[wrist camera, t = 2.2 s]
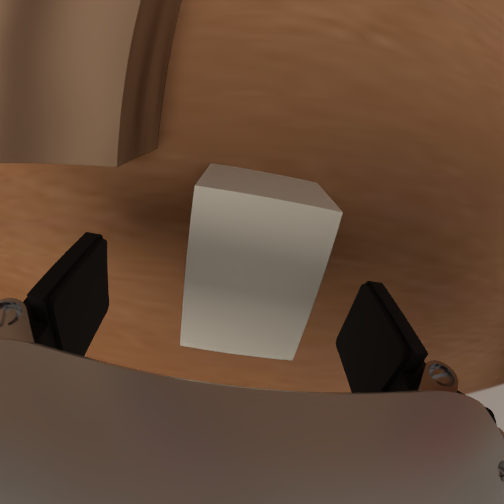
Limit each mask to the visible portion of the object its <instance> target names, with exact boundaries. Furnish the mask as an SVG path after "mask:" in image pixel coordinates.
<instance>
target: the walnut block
mask: <svg viewBox="0 0 504 504" xmlns="http://www.w3.org/2000/svg"><path fill="white" fill-rule="evenodd" d="M180 4H181V0H0V163H47V164H73V165H91V166H106V167H118V166H120V165H122V164H124V163H126V162H128V161H130V160H133V159H135V158H137V157H139V156H141V155H143V154H145V153H147V152H150V151H152V150H154V149H156V148H157V146H158V136H159V127H160V118H161V110H162V103H163V95H164V88H165V82H166V75H167V69H168V63H169V58H170V52H171V47H172V41H173V36H174V31H175V27H176V22H177V17H178V13H179V9H180Z"/></svg>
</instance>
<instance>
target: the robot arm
mask: <svg viewBox="0 0 504 504" xmlns="http://www.w3.org/2000/svg"><path fill="white" fill-rule="evenodd" d="M27 296H28V297H27V298H26V299H25V300H24V302H22V301H20V300H18V299H14V298H6V299H2V300H0V504H504V432H503V431H502V430H501V429H500V428H498V427H497V425H496V420H495V418H494V414H493V412H492V411H491V410H490V409H488V408H486V407H484V406H483V405H482V404H481V403H480V402H479V401H477V400H475V399H473V398H471V397H469V396H466V395H465V394H463V393H461V392H460V391H458V390H457V389H458V378H457V376H456V374H455V372H454V371H453V370H452V369H451V368H450V367H449V366H448V365H446V364H445V363H443V362H440V361H436V360H433V361H429V362H428V363H427V364H426V363H425V362H424V360H425V358H426V357H427V355H428V353H427V351H426V349H425V348H424V346H423V344H422V343H421V341H420V340H419V338H418V336H417V335H416V333H415V332H414V330H413V328H412V327H411V325H410V324H409V322H408V321H407V319H406V318H405V316H404V315H403V313H402V311H401V310H400V308H399V307H398V305H397V304H396V302H395V301H394V299H393V298H392V297H391V295H390V294H389V292H388V291H387V289H386V288H385V286H384V285H383V284H382V283H378V282H372V281H367V282H366V283H365V284H362V285H361V287H360V289H359V291H358V294H357V296H356V298H355V300H354V303H353V305H352V307H351V309H350V311H349V314H348V316H347V318H346V320H345V322H344V324H343V326H342V328H341V330H340V332H339V335H338V337H337V340H336V347H337V350H338V353H339V355H340V358H341V361H342V364H343V367H344V370H345V373H346V376H347V379H348V382H349V385H350V388H351V391H352V393H334V392H305V391H287V390H273V389H261V388H250V387H241V386H232V385H224V384H216V383H209V382H202V381H196V380H190V379H183V378H178V377H172V376H166V375H161V374H156V373H151V372H146V371H141V370H137V369H132V368H128V367H123V366H119V365H115V364H111V363H107V362H103V361H99V360H95V359H92V358H88V357H84V355H85V353H86V351H87V349H88V347H89V345H90V343H91V341H92V339H93V337H94V335H95V333H96V331H97V330H98V328H99V326H100V324H101V322H102V320H103V318H104V316H105V314H106V313H107V310H108V307H109V294H108V273H107V241H106V240H105V239H103V237H102V235H100V234H95V233H89V232H86V233H85V234H84V235H83V236H82V237H81V238H80V239H79V240H78V241H77V242H76V243H75V244H74V245H73V246H72V247H71V248H70V249H69V250H68V251H67V252H66V253H65V254H64V255H63V256H62V257H61V258H60V259H59V260H58V261H57V262H56V263H55V264H54V265H53V266H52V267H51V268H50V270H49V271H48V272H47V273H46V274H45V275H44V276H43V277H42V278H41V279H40V280H39V282H38V283H37V284H36V285H35V286H34V287H33V288H32V289H31V291H30V292H29V293H28V294H27Z"/></svg>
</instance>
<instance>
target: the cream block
mask: <svg viewBox="0 0 504 504" xmlns="http://www.w3.org/2000/svg"><path fill="white" fill-rule="evenodd" d="M342 214H343V212H342V211H341V210H340V208H339V207H338V206H337V205H336V204H335V203H334V201H333V200H332V199H331V198H330V197H329V196H328V194H327V193H326V192H325V191H324V190H323V189H322V188H321V186H320V185H319V184H318V183H317V182H312V181H307V180H303V179H298V178H293V177H288V176H283V175H278V174H273V173H267V172H262V171H257V170H251V169H245V168H239V167H233V166H227V165H221V164H214V163H211V164H210V165H209V166H208V168H207V169H206V171H205V172H204V173H203V175H202V176H201V177H200V179H199V180H198V182H197V183H196V184H195V187H194V195H193V203H192V211H191V220H190V229H189V238H188V248H187V258H186V269H185V281H184V293H183V307H182V322H181V340H180V345H181V346H186V347H192V348H198V349H204V350H210V351H217V352H224V353H231V354H238V355H246V356H254V357H263V358H272V359H282V360H293V358H294V355H295V353H296V350H297V348H298V345H299V342H300V340H301V337H302V334H303V332H304V329H305V326H306V324H307V321H308V318H309V315H310V312H311V310H312V307H313V304H314V301H315V298H316V295H317V293H318V290H319V287H320V284H321V281H322V278H323V275H324V272H325V269H326V266H327V263H328V260H329V256H330V253H331V250H332V247H333V244H334V241H335V237H336V234H337V231H338V227H339V224H340V221H341V217H342Z"/></svg>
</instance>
